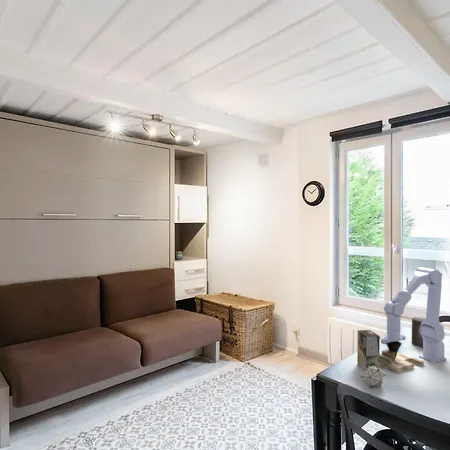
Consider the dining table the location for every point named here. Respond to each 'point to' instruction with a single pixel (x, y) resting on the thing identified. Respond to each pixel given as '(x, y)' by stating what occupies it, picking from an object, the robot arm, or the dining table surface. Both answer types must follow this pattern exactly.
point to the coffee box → (368, 349)
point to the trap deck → (399, 362)
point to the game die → (373, 376)
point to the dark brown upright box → (417, 331)
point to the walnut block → (389, 354)
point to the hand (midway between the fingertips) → (393, 357)
